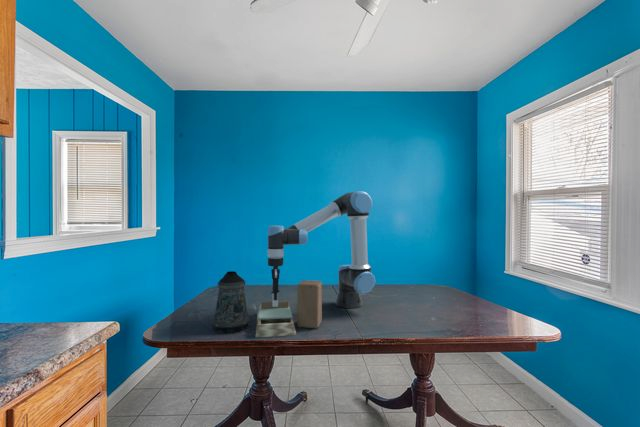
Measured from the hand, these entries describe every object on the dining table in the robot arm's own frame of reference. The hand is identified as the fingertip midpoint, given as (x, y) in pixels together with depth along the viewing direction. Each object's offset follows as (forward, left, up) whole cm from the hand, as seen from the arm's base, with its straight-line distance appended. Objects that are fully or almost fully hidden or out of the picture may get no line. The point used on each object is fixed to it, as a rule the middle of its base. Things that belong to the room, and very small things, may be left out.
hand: (275, 306), depth 150 cm
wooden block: (-16, +7, -8) cm, 19 cm away
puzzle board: (0, +3, -7) cm, 8 cm away
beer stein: (+21, +4, -8) cm, 23 cm away
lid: (0, +5, -2) cm, 5 cm away
